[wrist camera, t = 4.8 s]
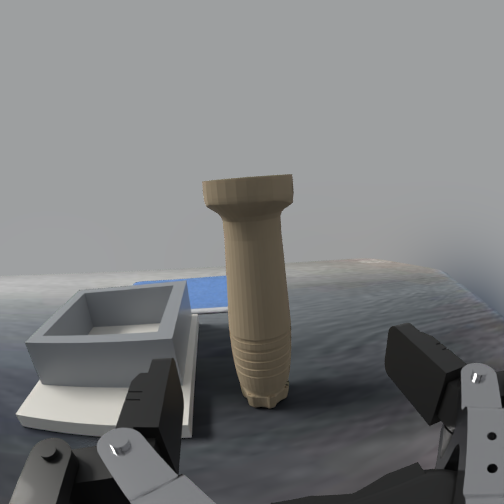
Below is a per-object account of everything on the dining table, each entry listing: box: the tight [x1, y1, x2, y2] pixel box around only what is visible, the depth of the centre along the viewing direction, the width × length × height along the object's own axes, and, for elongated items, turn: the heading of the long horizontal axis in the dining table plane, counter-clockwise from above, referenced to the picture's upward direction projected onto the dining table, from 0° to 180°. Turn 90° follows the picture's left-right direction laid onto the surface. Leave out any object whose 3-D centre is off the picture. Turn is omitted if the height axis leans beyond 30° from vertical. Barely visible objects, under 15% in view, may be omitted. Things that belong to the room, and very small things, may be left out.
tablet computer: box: [132, 276, 228, 314], centre depth 42 cm, size 19×13×1 cm, turn 93°
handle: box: [202, 174, 293, 408], centre depth 19 cm, size 5×6×15 cm
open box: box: [16, 280, 199, 438], centre depth 24 cm, size 17×14×5 cm
